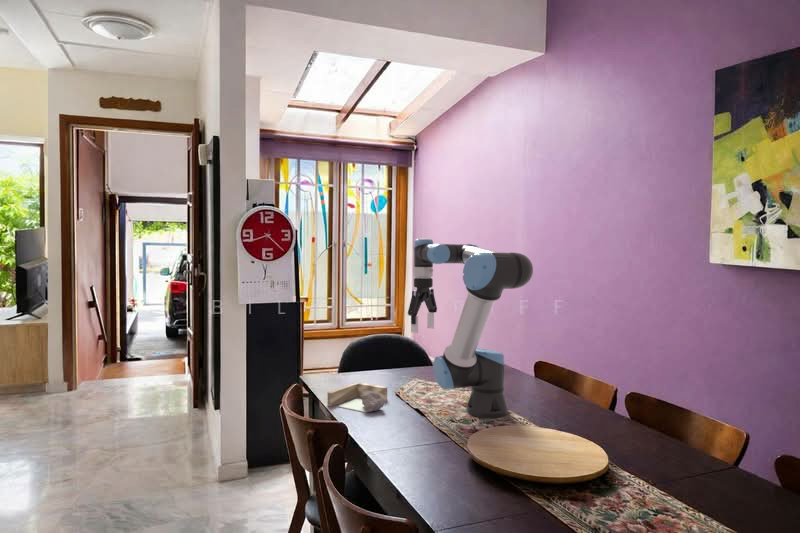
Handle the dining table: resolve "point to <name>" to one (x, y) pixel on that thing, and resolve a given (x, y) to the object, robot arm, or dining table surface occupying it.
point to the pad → (354, 405)
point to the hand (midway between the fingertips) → (422, 330)
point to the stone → (372, 401)
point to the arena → (354, 392)
